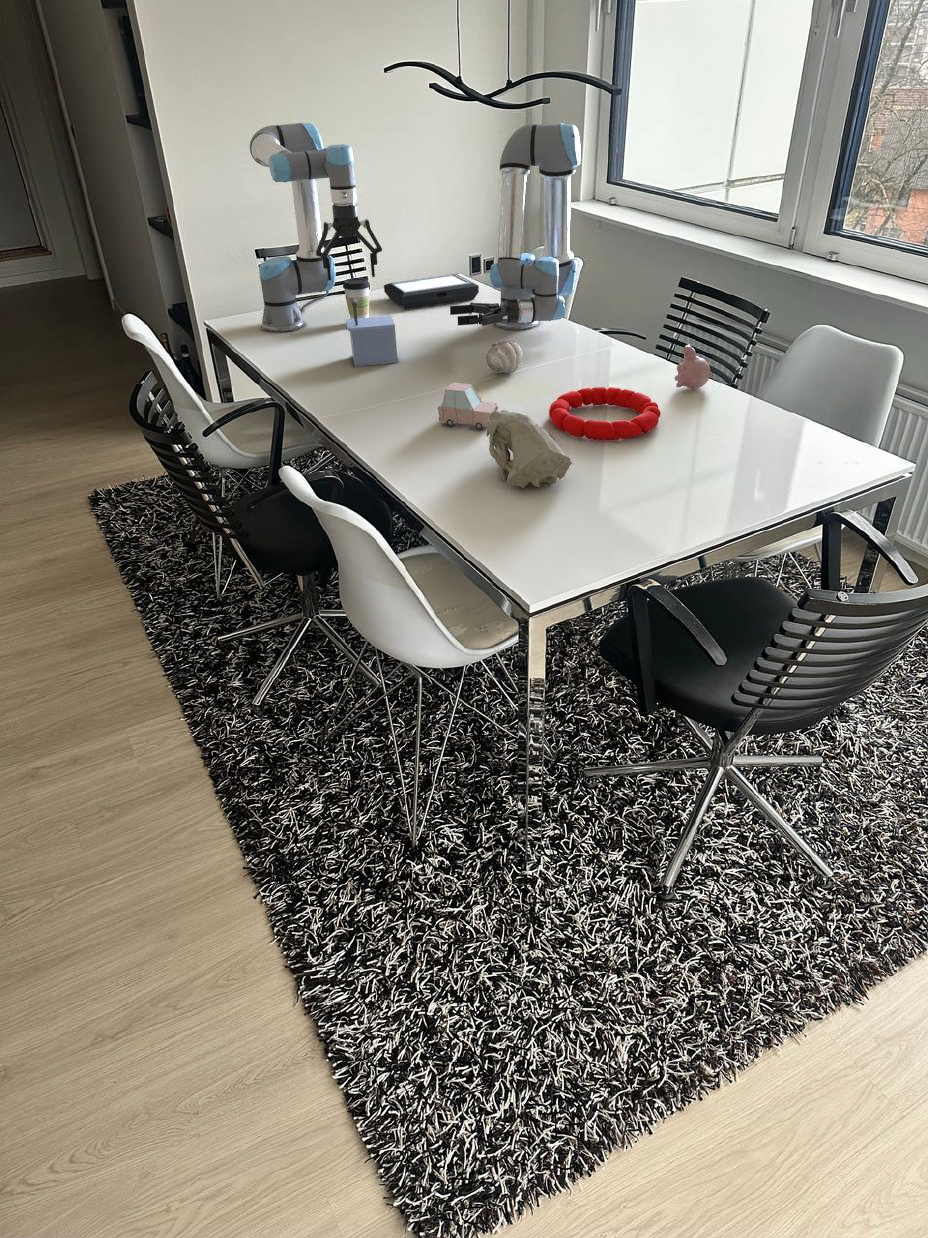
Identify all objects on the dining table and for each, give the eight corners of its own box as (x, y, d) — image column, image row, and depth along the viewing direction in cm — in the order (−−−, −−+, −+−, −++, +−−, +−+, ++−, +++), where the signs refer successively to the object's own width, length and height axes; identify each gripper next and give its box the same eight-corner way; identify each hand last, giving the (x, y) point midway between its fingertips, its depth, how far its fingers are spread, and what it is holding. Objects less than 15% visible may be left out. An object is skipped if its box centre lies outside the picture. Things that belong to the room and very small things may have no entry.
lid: (348, 331, 281) (345, 304, 277) (345, 322, 290) (343, 296, 285) (395, 327, 283) (393, 300, 279) (391, 318, 292) (389, 292, 287)
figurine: (665, 387, 264) (669, 347, 257) (693, 380, 268) (698, 340, 261) (686, 396, 257) (690, 355, 250) (714, 388, 262) (720, 348, 255)
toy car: (488, 432, 240) (488, 396, 234) (436, 426, 244) (434, 390, 239) (499, 419, 247) (499, 384, 241) (448, 413, 252) (447, 379, 246)
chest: (355, 366, 288) (351, 331, 281) (352, 356, 296) (348, 322, 290) (397, 362, 290) (395, 327, 283) (393, 352, 298) (391, 318, 292)
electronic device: (401, 294, 334) (383, 282, 349) (402, 311, 338) (384, 299, 353) (478, 283, 345) (457, 272, 360) (478, 299, 348) (458, 288, 363)
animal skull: (496, 517, 219) (521, 479, 201) (463, 429, 225) (484, 384, 207) (557, 503, 225) (586, 465, 206) (523, 417, 231) (549, 373, 212)
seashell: (476, 372, 280) (475, 340, 274) (517, 363, 285) (517, 332, 280) (493, 381, 272) (492, 349, 266) (534, 372, 278) (534, 340, 272)
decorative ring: (589, 435, 224) (684, 402, 234) (527, 398, 247) (617, 369, 256) (589, 461, 229) (683, 427, 238) (529, 422, 251) (617, 393, 260)
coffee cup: (372, 326, 323) (368, 283, 314) (345, 327, 323) (340, 284, 315) (374, 318, 331) (371, 276, 322) (348, 319, 331) (344, 277, 323)
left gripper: (302, 208, 261) (312, 283, 273) (387, 202, 264) (392, 277, 276) (301, 203, 267) (310, 277, 279) (384, 198, 270) (389, 271, 282)
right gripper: (526, 332, 284) (461, 337, 281) (508, 313, 305) (447, 317, 302) (527, 308, 280) (460, 313, 277) (508, 290, 301) (446, 294, 298)
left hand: (351, 277), depth 277 cm, fingers open, 13 cm apart
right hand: (453, 315), depth 289 cm, fingers open, 13 cm apart
